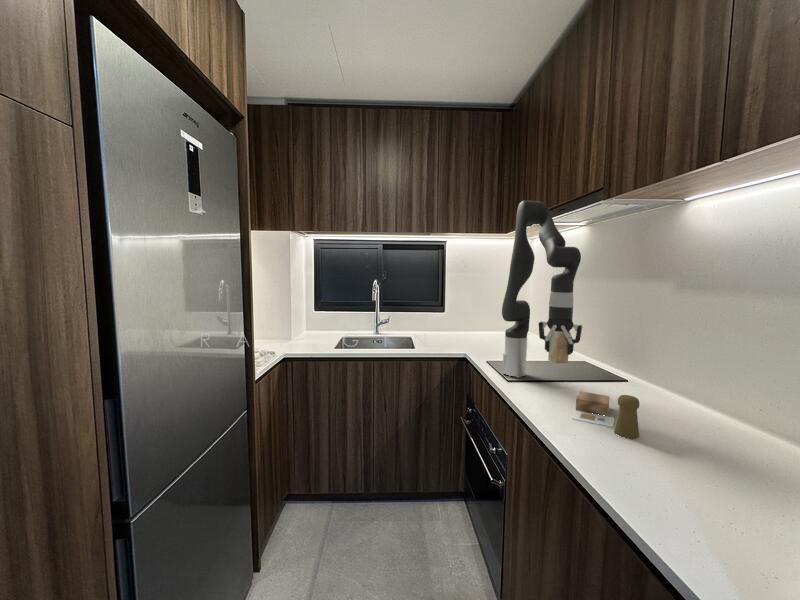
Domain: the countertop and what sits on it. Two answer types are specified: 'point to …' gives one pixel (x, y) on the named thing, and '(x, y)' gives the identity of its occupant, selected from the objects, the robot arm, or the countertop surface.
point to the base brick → (592, 403)
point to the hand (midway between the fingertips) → (558, 352)
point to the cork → (627, 417)
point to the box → (558, 347)
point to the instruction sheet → (593, 418)
